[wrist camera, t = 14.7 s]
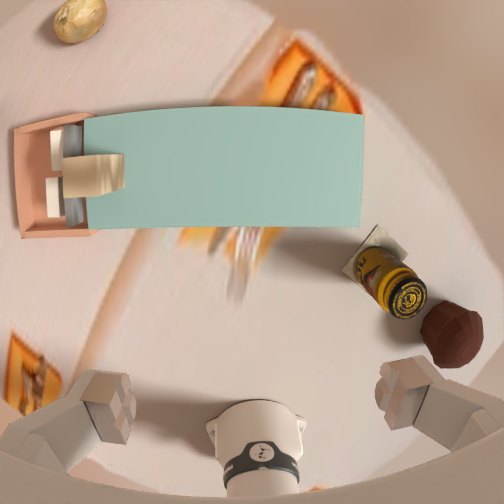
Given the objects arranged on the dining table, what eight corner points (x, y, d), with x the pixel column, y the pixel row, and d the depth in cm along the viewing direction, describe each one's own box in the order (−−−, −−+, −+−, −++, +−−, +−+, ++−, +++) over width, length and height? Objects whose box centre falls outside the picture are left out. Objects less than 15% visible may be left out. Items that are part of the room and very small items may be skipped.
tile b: (66, 169, 32) (51, 171, 31) (76, 159, 36) (63, 160, 35) (64, 129, 29) (50, 131, 28) (75, 124, 33) (62, 125, 33)
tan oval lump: (81, 1, 28) (61, -17, 22) (122, 5, 30) (105, -16, 23) (57, 45, 30) (33, 32, 24) (97, 51, 32) (75, 35, 25)
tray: (99, 230, 39) (89, 236, 36) (33, 232, 39) (21, 238, 35) (95, 115, 35) (84, 112, 31) (27, 129, 34) (14, 128, 31)
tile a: (59, 217, 33) (47, 217, 33) (77, 210, 38) (65, 210, 38) (57, 177, 31) (45, 178, 31) (76, 174, 36) (64, 175, 36)
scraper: (125, 220, 35) (99, 237, 28) (77, 221, 35) (44, 237, 27) (125, 121, 32) (97, 113, 24) (75, 127, 31) (40, 123, 24)
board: (348, 220, 41) (359, 227, 37) (100, 222, 39) (88, 229, 35) (352, 118, 37) (364, 115, 33) (97, 121, 35) (84, 119, 31)
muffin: (403, 332, 47) (431, 365, 38) (443, 282, 45) (478, 308, 35) (434, 357, 50) (460, 387, 40) (470, 313, 47) (501, 338, 38)
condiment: (340, 270, 43) (373, 308, 32) (377, 224, 41) (422, 248, 30) (372, 296, 45) (408, 336, 33) (407, 253, 43) (452, 283, 31)
